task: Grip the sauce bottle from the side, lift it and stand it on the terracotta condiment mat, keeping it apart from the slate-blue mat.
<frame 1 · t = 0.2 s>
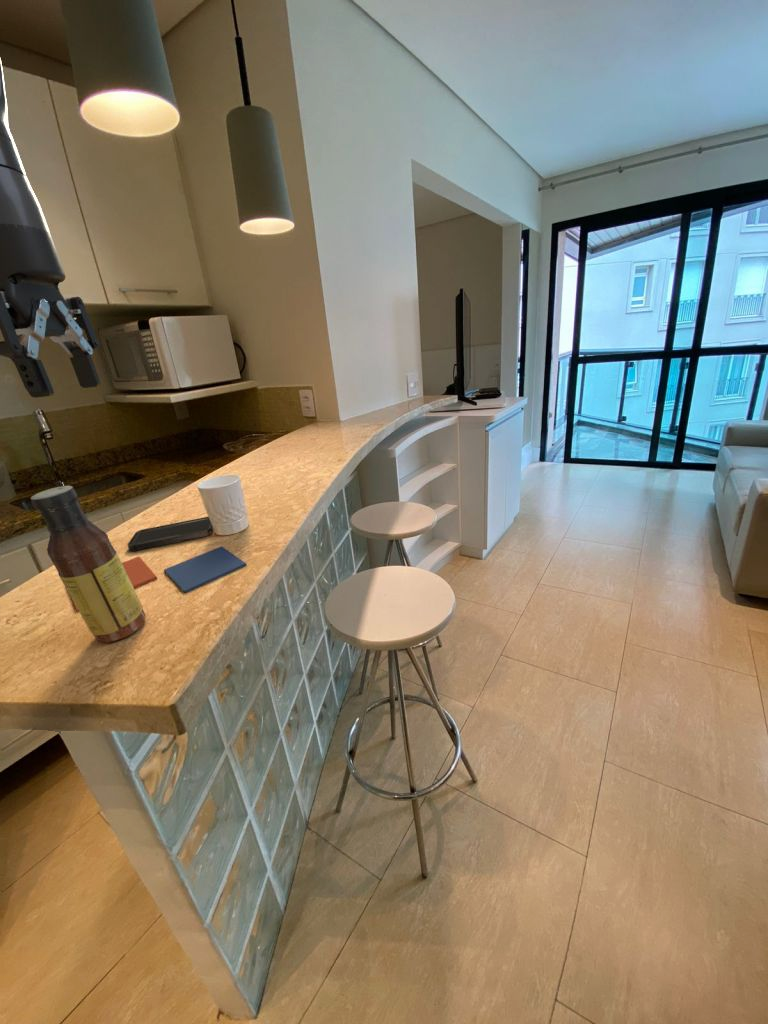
hand: (69, 391, 48), 30 cm above the counter, tool pointing down, fingers open, 8 cm apart
terracotta mat: (111, 582, 66), on the counter
sauce bottle: (121, 631, 54), on the counter
white cup: (232, 529, 82), on the counter
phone: (174, 536, 81), on the counter
slate-blue mat: (205, 568, 67), on the counter
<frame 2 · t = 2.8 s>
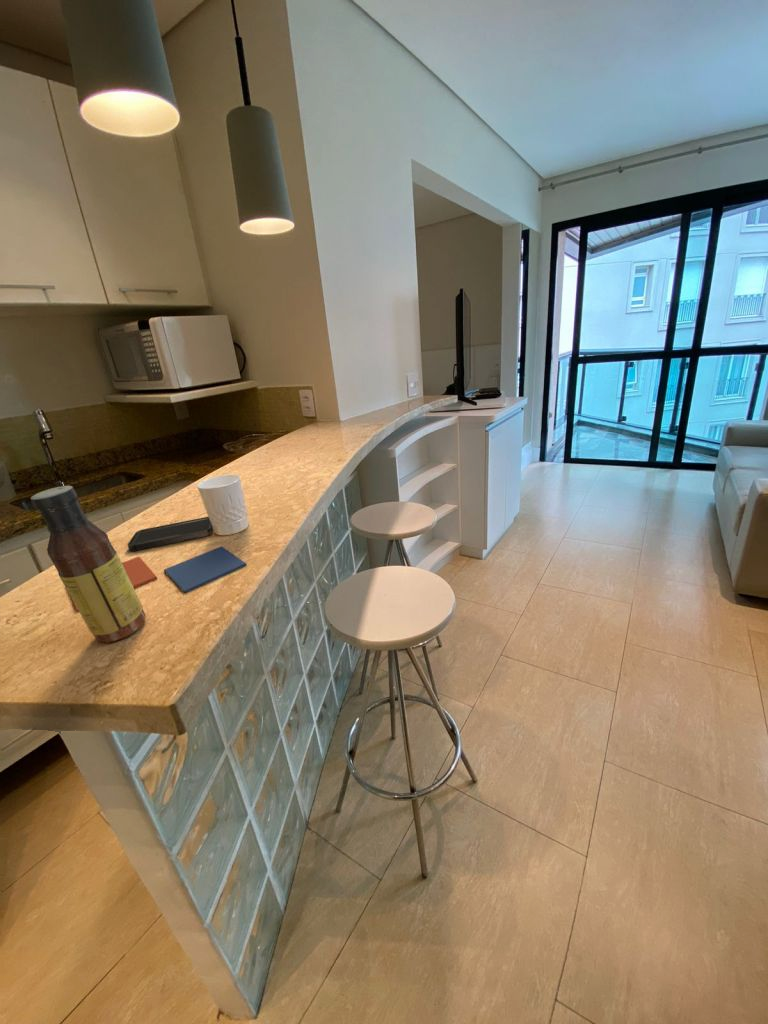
nothing on the counter moved.
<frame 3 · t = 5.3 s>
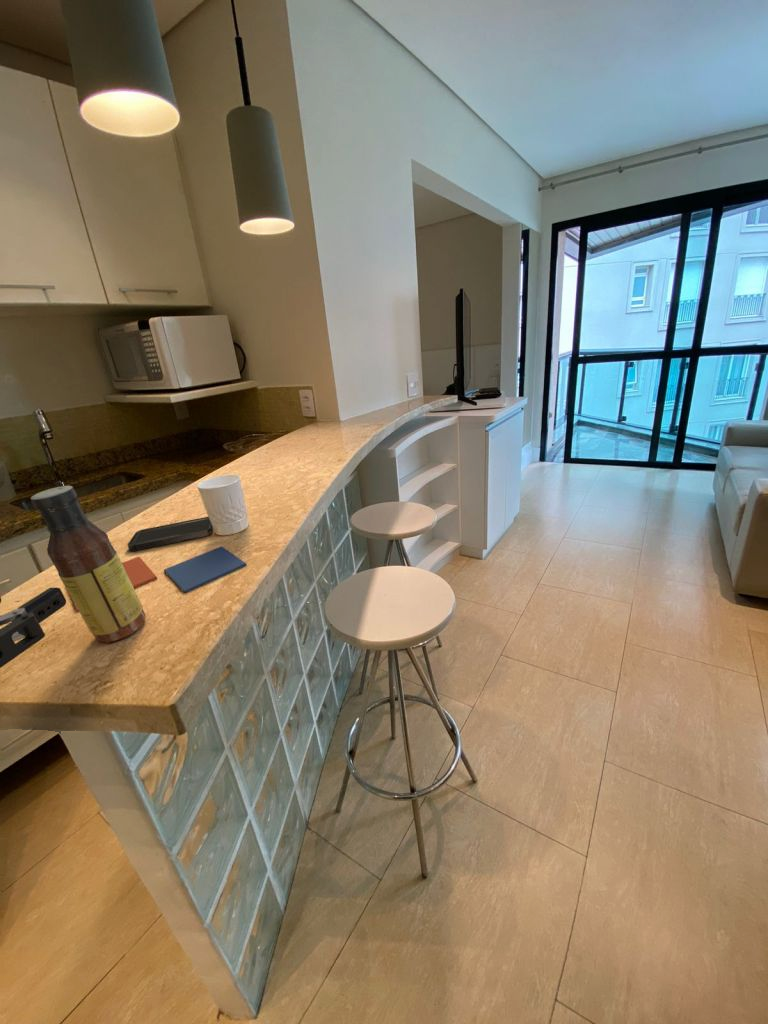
hand: (27, 593, 43), 11 cm above the counter, tool horizontal, fingers open, 8 cm apart
nothing on the counter moved.
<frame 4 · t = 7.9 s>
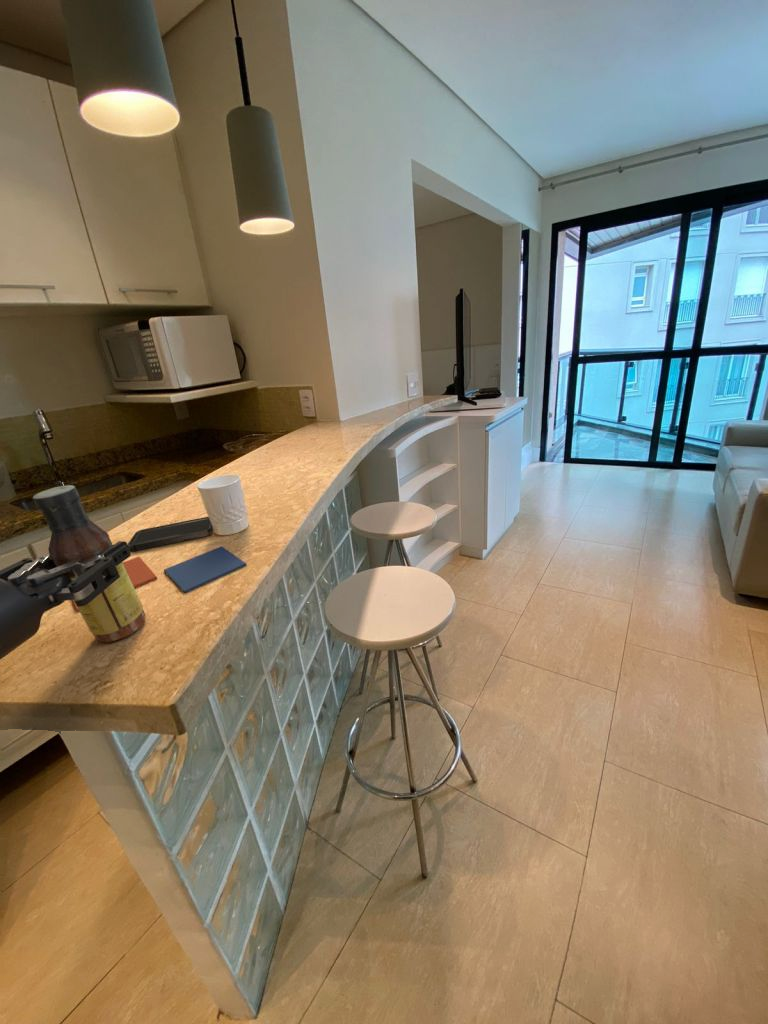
hand: (102, 548, 52), 11 cm above the counter, tool horizontal, fingers closed on sauce bottle, 6 cm apart
sauce bottle: (120, 630, 54), on the counter, touching gripper
everything else where it was.
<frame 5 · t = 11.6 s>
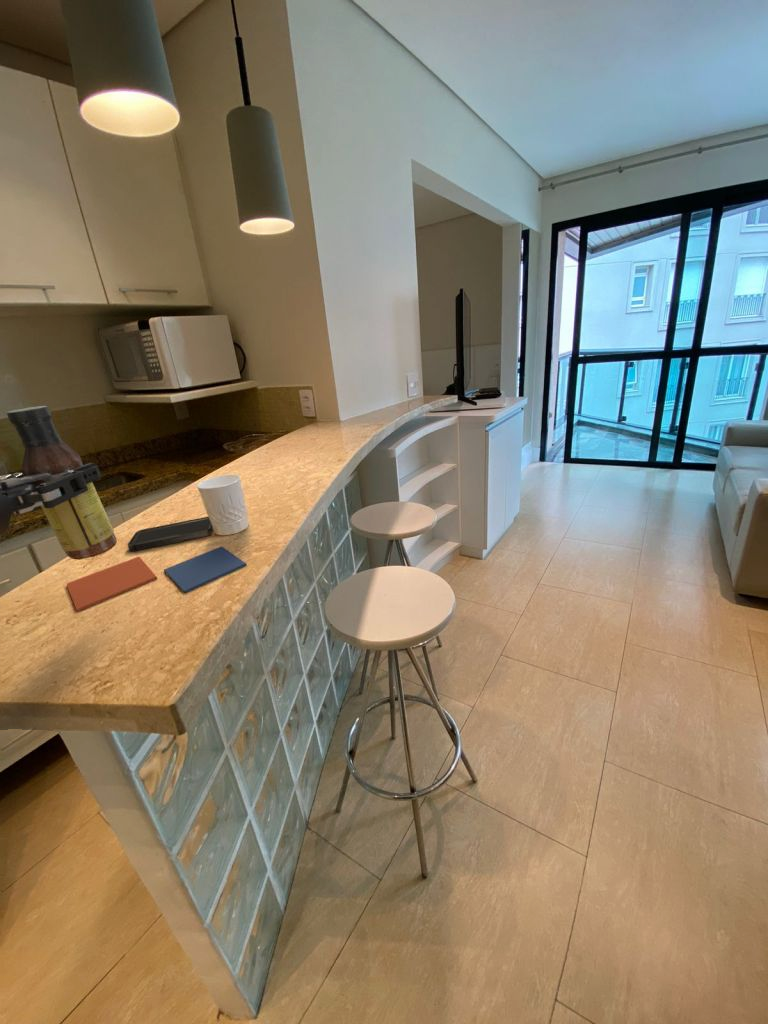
hand: (75, 471, 55), 20 cm above the counter, tool horizontal, fingers closed on sauce bottle, 6 cm apart
sauce bottle: (92, 552, 57), point 8 cm above the counter, touching gripper
everything else where it was.
when the fingers open (11 cm above the counter, at t = 15.6 s): sauce bottle stays where it is, resting on terracotta mat.
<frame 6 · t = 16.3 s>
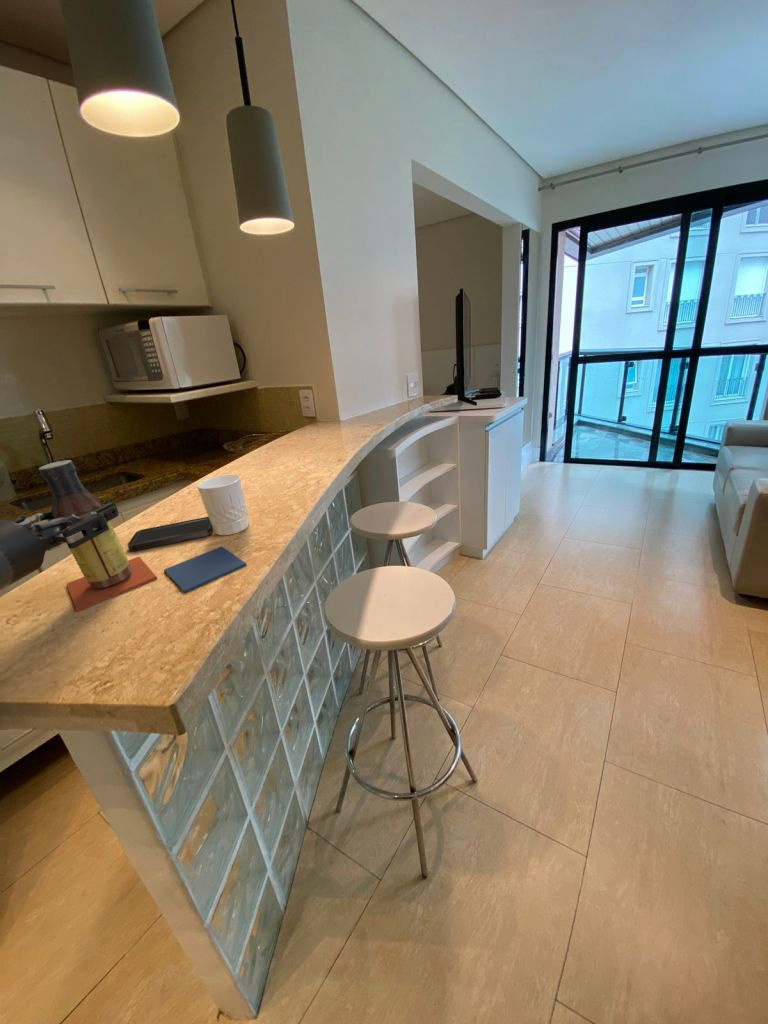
hand: (91, 509, 63), 12 cm above the counter, tool horizontal, fingers open, 8 cm apart
sauce bottle: (111, 581, 66), resting on terracotta mat
everything else where it was.
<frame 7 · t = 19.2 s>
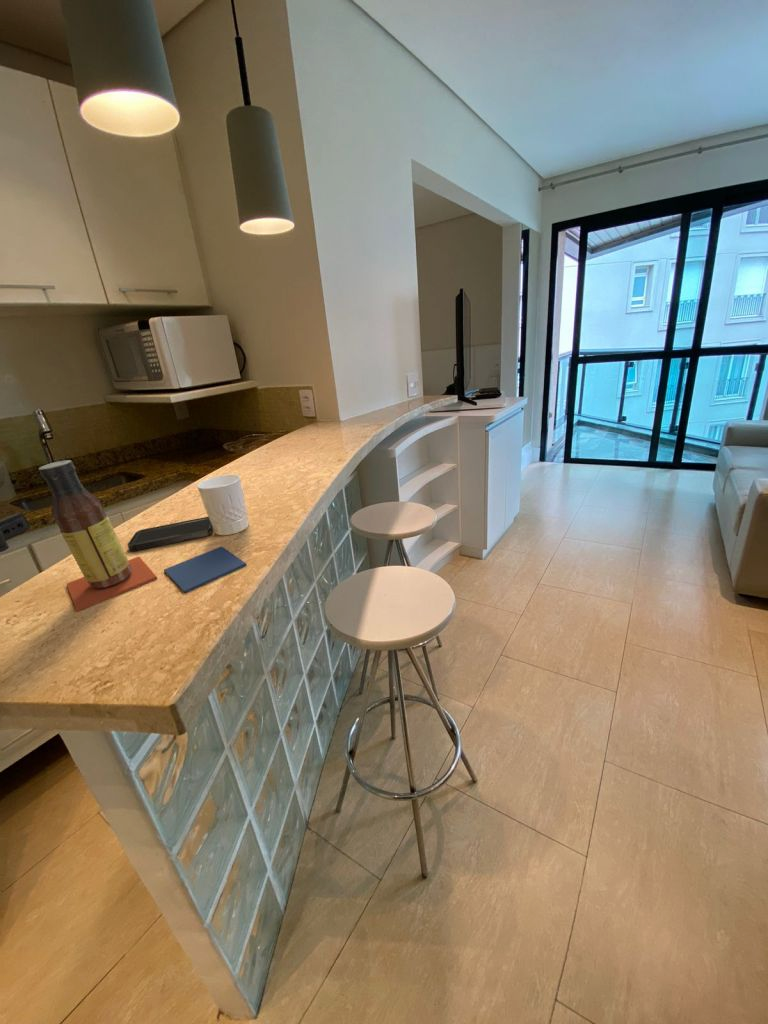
nothing on the counter moved.
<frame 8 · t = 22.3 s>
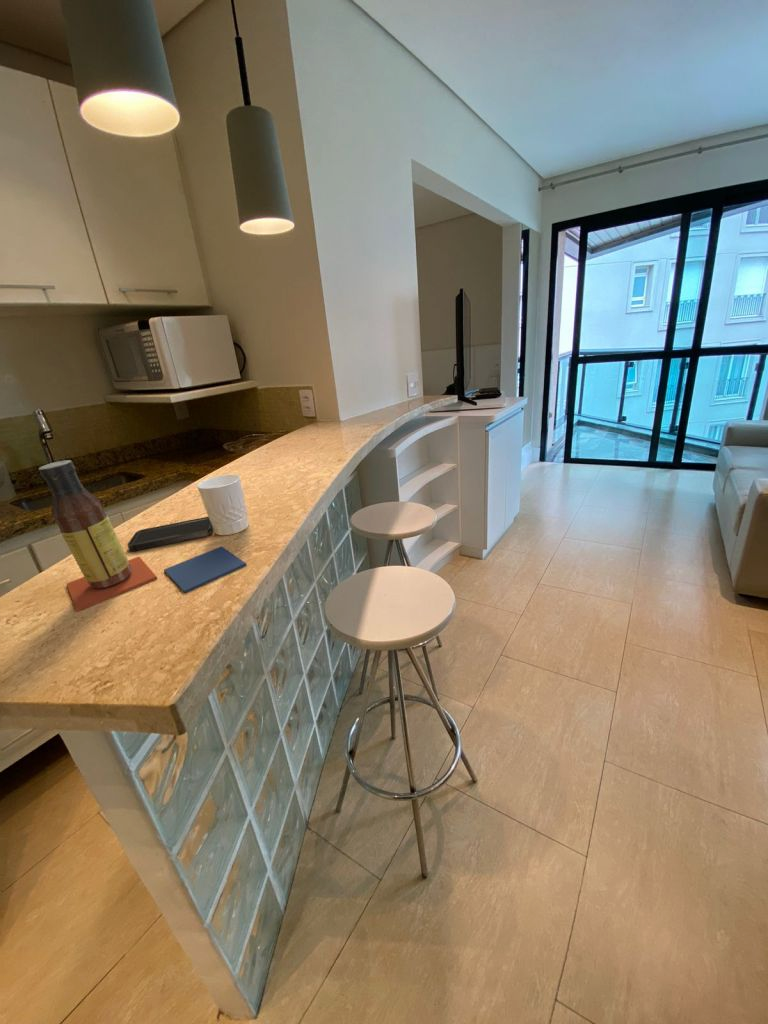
nothing on the counter moved.
at the end: sauce bottle inside the target area (0.2 cm from its centre), resting on terracotta mat; sauce bottle tilted 0°; sauce bottle touching terracotta mat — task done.
